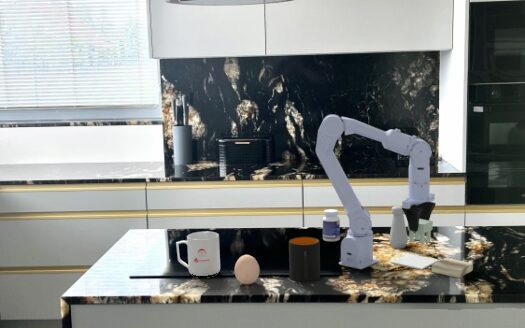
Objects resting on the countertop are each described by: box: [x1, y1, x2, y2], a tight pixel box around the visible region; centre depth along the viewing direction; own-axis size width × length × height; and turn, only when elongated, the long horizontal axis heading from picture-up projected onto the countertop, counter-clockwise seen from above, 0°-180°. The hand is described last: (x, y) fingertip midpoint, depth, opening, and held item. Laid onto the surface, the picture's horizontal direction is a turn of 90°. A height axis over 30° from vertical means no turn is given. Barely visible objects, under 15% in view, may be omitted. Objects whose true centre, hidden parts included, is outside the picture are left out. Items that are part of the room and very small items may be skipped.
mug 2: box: [288, 236, 321, 284], centre depth 159 cm, size 8×12×10 cm
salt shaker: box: [388, 205, 409, 249], centre depth 187 cm, size 6×6×13 cm
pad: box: [390, 253, 440, 271], centre depth 172 cm, size 10×10×1 cm
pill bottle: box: [322, 208, 341, 242], centre depth 198 cm, size 6×6×10 cm
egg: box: [234, 254, 260, 285], centre depth 158 cm, size 7×7×8 cm
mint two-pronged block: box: [407, 219, 434, 246], centre depth 169 cm, size 5×5×6 cm
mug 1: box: [175, 231, 221, 276], centre depth 167 cm, size 12×9×11 cm
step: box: [431, 257, 474, 279], centre depth 162 cm, size 8×8×2 cm
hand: (418, 228), depth 169 cm, fingers closed on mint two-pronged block, 5 cm apart
